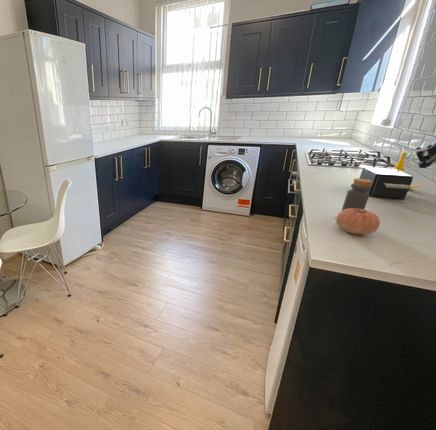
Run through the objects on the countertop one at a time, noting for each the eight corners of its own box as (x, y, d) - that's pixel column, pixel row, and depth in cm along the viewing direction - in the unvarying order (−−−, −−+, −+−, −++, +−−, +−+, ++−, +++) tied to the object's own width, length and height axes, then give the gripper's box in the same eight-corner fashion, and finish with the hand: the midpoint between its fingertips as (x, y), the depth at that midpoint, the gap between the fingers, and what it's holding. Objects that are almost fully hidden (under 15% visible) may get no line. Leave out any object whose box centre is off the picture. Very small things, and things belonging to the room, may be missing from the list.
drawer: (410, 201, 116) (418, 181, 113) (376, 197, 120) (383, 179, 117) (390, 189, 132) (397, 172, 128) (360, 186, 136) (366, 170, 132)
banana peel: (392, 181, 148) (404, 149, 142) (420, 191, 131) (436, 156, 125) (357, 179, 151) (367, 148, 145) (380, 189, 134) (393, 154, 128)
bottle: (335, 216, 103) (348, 177, 98) (353, 218, 102) (367, 178, 97) (344, 223, 98) (358, 181, 93) (363, 224, 97) (378, 182, 91)
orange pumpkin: (383, 240, 86) (393, 216, 83) (344, 238, 88) (352, 214, 85) (361, 226, 96) (369, 204, 93) (326, 224, 97) (333, 202, 94)
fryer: (404, 199, 122) (413, 176, 118) (368, 195, 126) (376, 173, 122) (388, 189, 134) (396, 169, 130) (356, 187, 138) (363, 167, 135)
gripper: (433, 144, 90) (399, 173, 105) (490, 146, 85) (446, 176, 101) (430, 126, 93) (398, 156, 108) (486, 127, 88) (443, 159, 103)
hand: (421, 166), depth 104 cm, fingers closed
